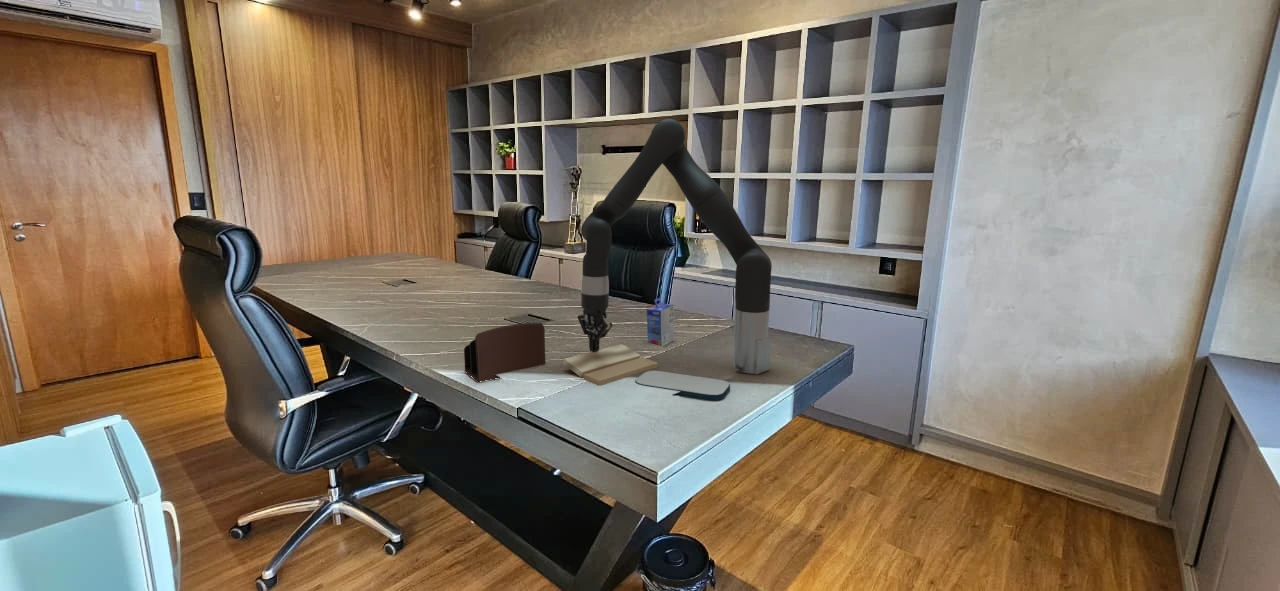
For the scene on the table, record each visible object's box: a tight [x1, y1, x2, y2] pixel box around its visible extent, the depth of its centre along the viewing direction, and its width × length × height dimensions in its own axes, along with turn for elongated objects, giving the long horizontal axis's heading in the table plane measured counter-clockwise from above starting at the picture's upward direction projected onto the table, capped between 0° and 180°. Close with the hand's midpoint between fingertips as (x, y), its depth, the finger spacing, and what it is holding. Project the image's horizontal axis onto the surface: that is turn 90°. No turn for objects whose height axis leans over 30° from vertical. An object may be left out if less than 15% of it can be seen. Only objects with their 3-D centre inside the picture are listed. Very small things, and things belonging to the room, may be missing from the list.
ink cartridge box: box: [646, 297, 675, 347], centre depth 186 cm, size 10×6×14 cm, turn 152°
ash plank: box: [563, 343, 641, 378], centre depth 160 cm, size 8×21×2 cm, turn 134°
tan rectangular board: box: [582, 356, 659, 386], centre depth 158 cm, size 16×23×2 cm
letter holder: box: [463, 322, 547, 383], centre depth 159 cm, size 10×20×14 cm, turn 127°
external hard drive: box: [634, 370, 731, 402], centre depth 147 cm, size 24×12×2 cm, turn 67°
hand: (594, 350), depth 162 cm, fingers closed
